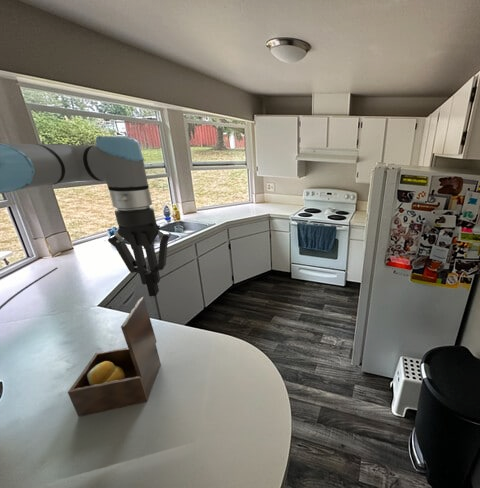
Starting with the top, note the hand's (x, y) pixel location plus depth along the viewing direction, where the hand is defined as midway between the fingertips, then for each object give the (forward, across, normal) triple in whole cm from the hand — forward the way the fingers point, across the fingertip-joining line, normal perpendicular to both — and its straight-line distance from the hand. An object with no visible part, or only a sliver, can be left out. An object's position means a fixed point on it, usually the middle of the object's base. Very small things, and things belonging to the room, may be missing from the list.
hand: (154, 293), depth 67 cm
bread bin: (+30, -13, 0) cm, 33 cm away
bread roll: (+26, -18, 0) cm, 31 cm away
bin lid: (+13, -6, 0) cm, 14 cm away
